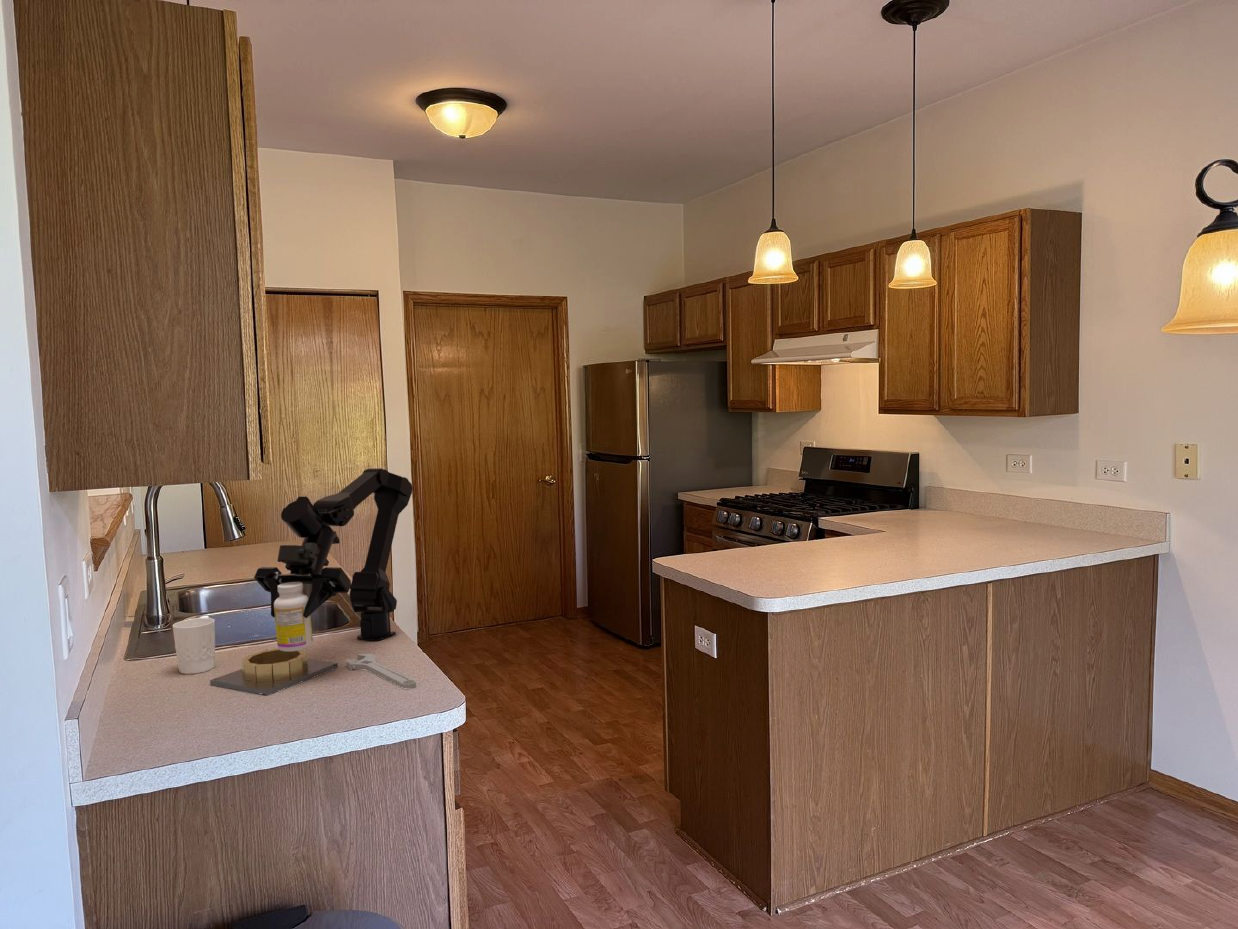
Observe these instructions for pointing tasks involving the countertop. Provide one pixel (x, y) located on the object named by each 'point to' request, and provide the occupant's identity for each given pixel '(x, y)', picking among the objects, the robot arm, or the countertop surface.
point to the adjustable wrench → (380, 670)
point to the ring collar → (273, 671)
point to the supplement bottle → (292, 618)
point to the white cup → (195, 645)
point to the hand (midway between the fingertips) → (288, 616)
